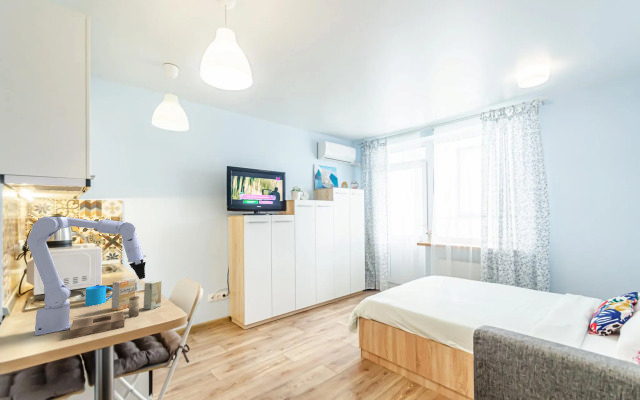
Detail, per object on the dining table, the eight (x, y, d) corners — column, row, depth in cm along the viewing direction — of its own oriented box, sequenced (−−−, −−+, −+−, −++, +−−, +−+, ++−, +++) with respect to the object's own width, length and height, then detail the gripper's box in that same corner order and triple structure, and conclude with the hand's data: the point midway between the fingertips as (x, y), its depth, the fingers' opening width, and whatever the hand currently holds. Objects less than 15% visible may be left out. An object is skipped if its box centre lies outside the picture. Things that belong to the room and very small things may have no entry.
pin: (129, 318, 119) (129, 299, 120) (128, 315, 122) (129, 297, 122) (139, 316, 121) (139, 297, 122) (138, 313, 124) (138, 295, 125)
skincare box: (150, 310, 129) (151, 283, 130) (143, 309, 130) (143, 283, 131) (161, 305, 135) (162, 280, 136) (153, 305, 136) (154, 280, 137)
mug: (87, 307, 135) (88, 290, 136) (83, 304, 140) (83, 287, 141) (116, 300, 145) (117, 285, 145) (111, 298, 150) (111, 283, 150)
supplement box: (118, 311, 128) (119, 282, 129) (111, 310, 130) (112, 281, 131) (135, 305, 136) (136, 278, 137) (128, 304, 138) (129, 278, 139)
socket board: (69, 338, 99) (70, 329, 99) (72, 328, 108) (73, 320, 109) (124, 327, 109) (124, 319, 109) (122, 318, 118) (123, 311, 118)
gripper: (144, 246, 120) (153, 276, 121) (141, 244, 132) (149, 271, 133) (125, 252, 116) (134, 282, 117) (123, 249, 127) (132, 277, 128)
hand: (141, 277), depth 125 cm, fingers open, 7 cm apart
